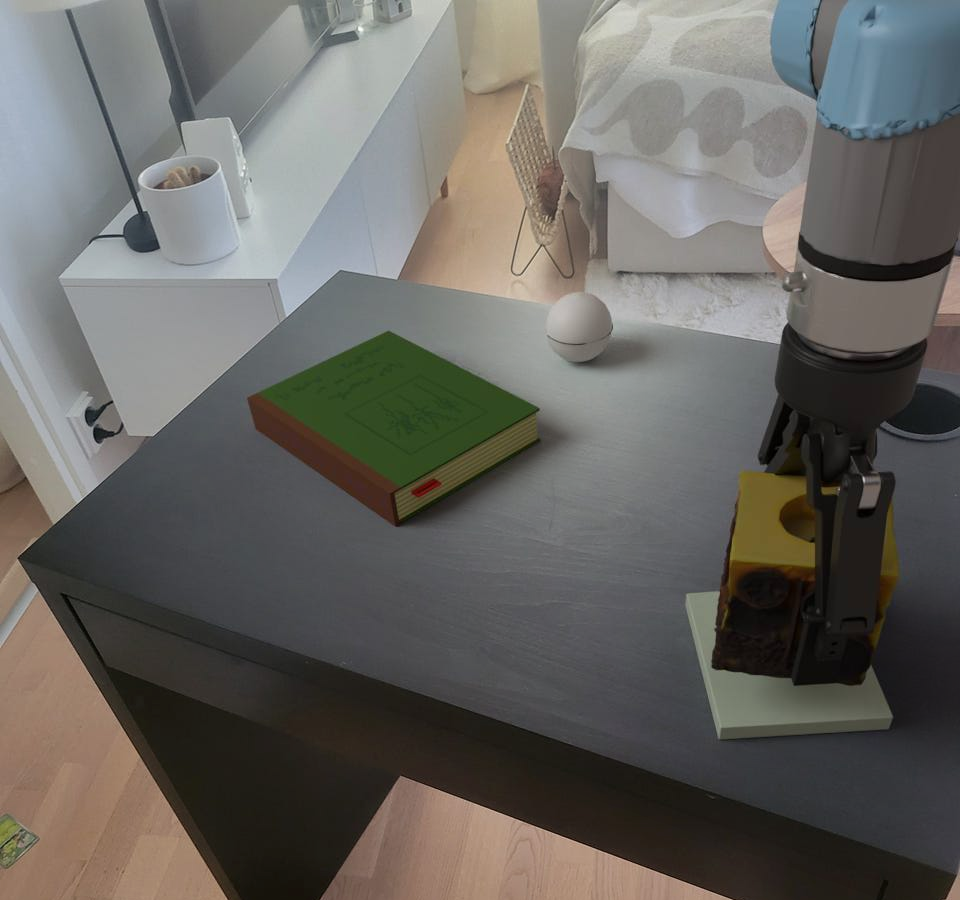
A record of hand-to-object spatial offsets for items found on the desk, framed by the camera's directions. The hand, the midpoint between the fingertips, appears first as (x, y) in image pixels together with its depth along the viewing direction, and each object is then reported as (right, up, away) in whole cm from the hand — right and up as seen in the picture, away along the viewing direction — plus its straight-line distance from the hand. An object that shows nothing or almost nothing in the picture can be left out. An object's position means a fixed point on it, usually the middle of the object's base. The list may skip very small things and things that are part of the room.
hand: (790, 618), depth 67 cm
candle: (0, -1, +1) cm, 1 cm away
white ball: (-10, +29, +39) cm, 50 cm away
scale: (+1, -3, +5) cm, 6 cm away
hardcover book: (-30, +19, +31) cm, 48 cm away
